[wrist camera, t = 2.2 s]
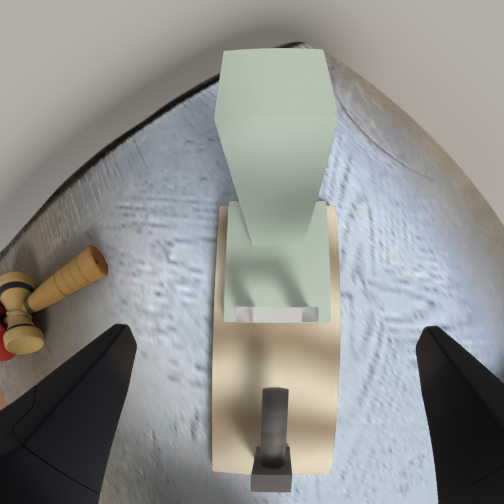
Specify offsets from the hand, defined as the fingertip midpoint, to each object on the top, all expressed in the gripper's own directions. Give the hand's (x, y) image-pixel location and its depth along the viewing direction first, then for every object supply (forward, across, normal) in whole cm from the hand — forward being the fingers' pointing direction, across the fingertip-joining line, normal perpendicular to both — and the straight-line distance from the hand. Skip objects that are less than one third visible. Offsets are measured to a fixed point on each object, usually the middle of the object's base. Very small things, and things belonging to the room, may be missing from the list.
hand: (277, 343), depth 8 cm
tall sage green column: (+12, 0, +5) cm, 13 cm away
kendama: (+10, +22, +9) cm, 26 cm away
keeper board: (+8, 0, +10) cm, 13 cm away
